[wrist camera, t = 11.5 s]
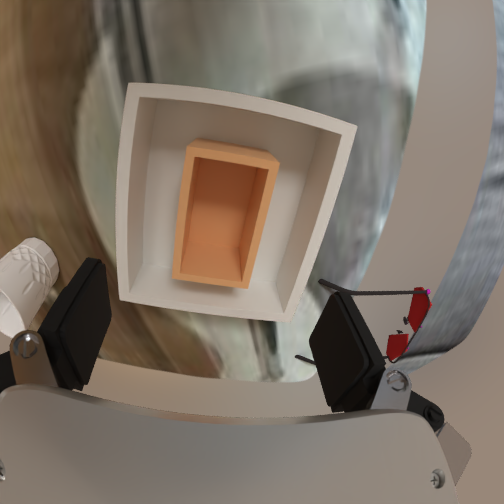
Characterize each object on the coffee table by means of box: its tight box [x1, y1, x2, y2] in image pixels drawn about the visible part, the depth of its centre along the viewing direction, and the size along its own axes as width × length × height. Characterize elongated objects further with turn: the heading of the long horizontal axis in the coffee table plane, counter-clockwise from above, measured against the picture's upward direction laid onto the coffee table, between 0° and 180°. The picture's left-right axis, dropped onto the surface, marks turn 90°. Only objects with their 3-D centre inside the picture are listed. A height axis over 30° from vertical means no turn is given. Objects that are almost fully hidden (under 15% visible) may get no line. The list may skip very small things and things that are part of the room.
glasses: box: [295, 279, 432, 365], centre depth 33 cm, size 14×16×5 cm
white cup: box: [0, 237, 59, 338], centre depth 22 cm, size 8×8×10 cm
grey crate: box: [116, 83, 357, 322], centre depth 22 cm, size 18×16×6 cm
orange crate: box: [172, 138, 280, 289], centre depth 21 cm, size 10×6×6 cm, turn 168°
